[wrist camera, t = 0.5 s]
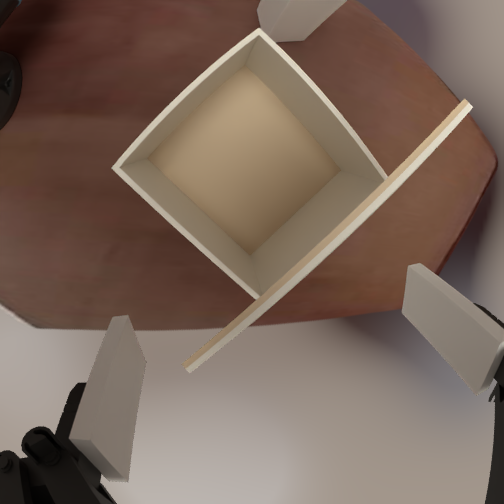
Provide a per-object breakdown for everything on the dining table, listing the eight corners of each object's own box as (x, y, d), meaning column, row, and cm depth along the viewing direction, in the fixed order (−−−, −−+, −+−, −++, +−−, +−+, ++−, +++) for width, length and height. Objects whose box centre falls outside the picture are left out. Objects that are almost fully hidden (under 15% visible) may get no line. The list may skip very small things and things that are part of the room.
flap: (181, 364, 14) (189, 373, 14) (464, 98, 11) (472, 107, 11) (265, 304, 34) (269, 308, 34) (391, 187, 31) (395, 191, 31)
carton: (142, 158, 40) (111, 168, 27) (244, 60, 37) (259, 27, 24) (249, 259, 48) (263, 306, 35) (344, 170, 44) (393, 185, 31)
